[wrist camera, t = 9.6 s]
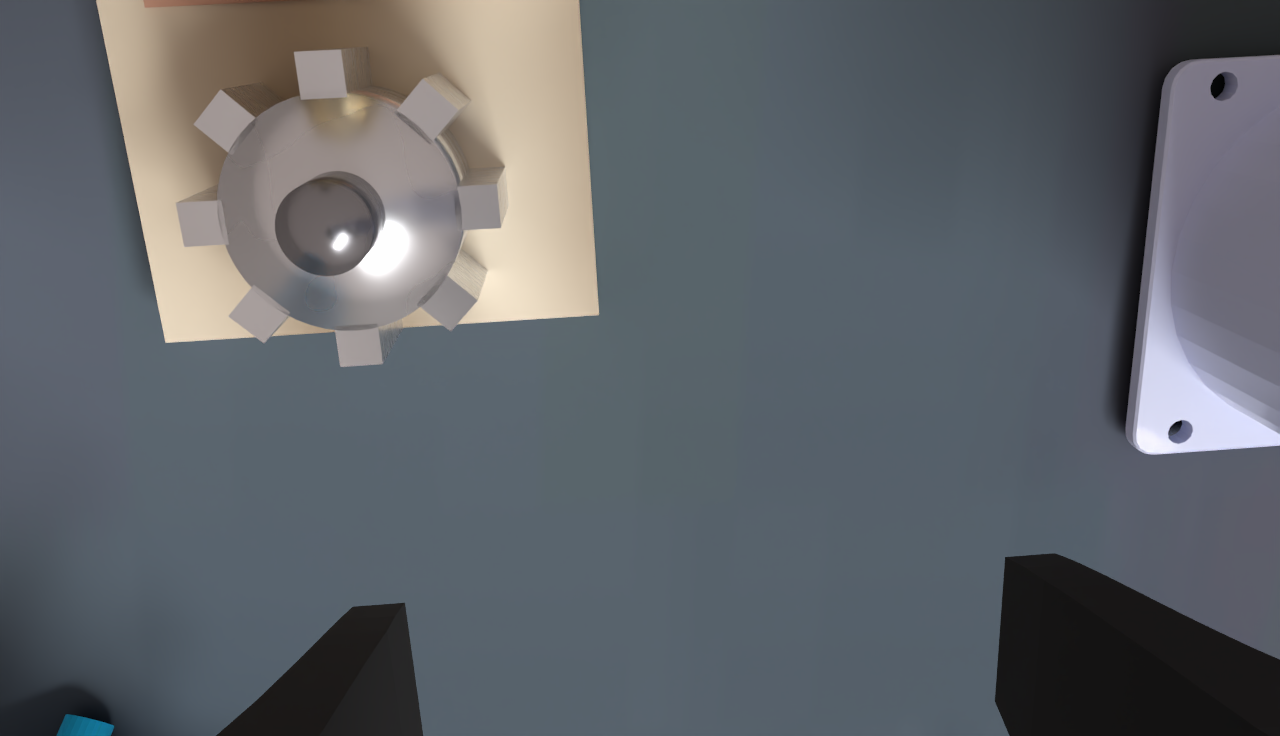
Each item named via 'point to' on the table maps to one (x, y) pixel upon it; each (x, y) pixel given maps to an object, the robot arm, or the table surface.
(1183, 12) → the table surface
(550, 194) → the plate
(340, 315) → the sun gear
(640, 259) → the table surface
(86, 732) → the toy dinosaur
